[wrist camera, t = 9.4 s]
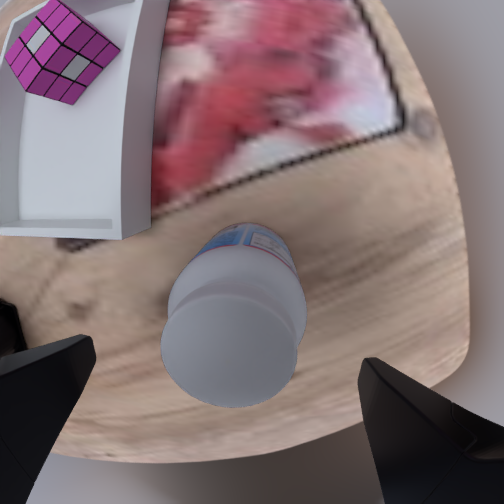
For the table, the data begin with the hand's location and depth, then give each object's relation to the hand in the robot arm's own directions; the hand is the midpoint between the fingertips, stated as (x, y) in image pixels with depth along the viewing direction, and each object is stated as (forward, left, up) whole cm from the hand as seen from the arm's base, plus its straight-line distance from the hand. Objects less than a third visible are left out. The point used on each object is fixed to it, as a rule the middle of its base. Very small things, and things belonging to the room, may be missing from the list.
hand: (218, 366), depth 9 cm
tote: (+12, +14, -12) cm, 22 cm away
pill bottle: (0, 0, -12) cm, 12 cm away
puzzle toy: (+16, +14, -12) cm, 24 cm away
